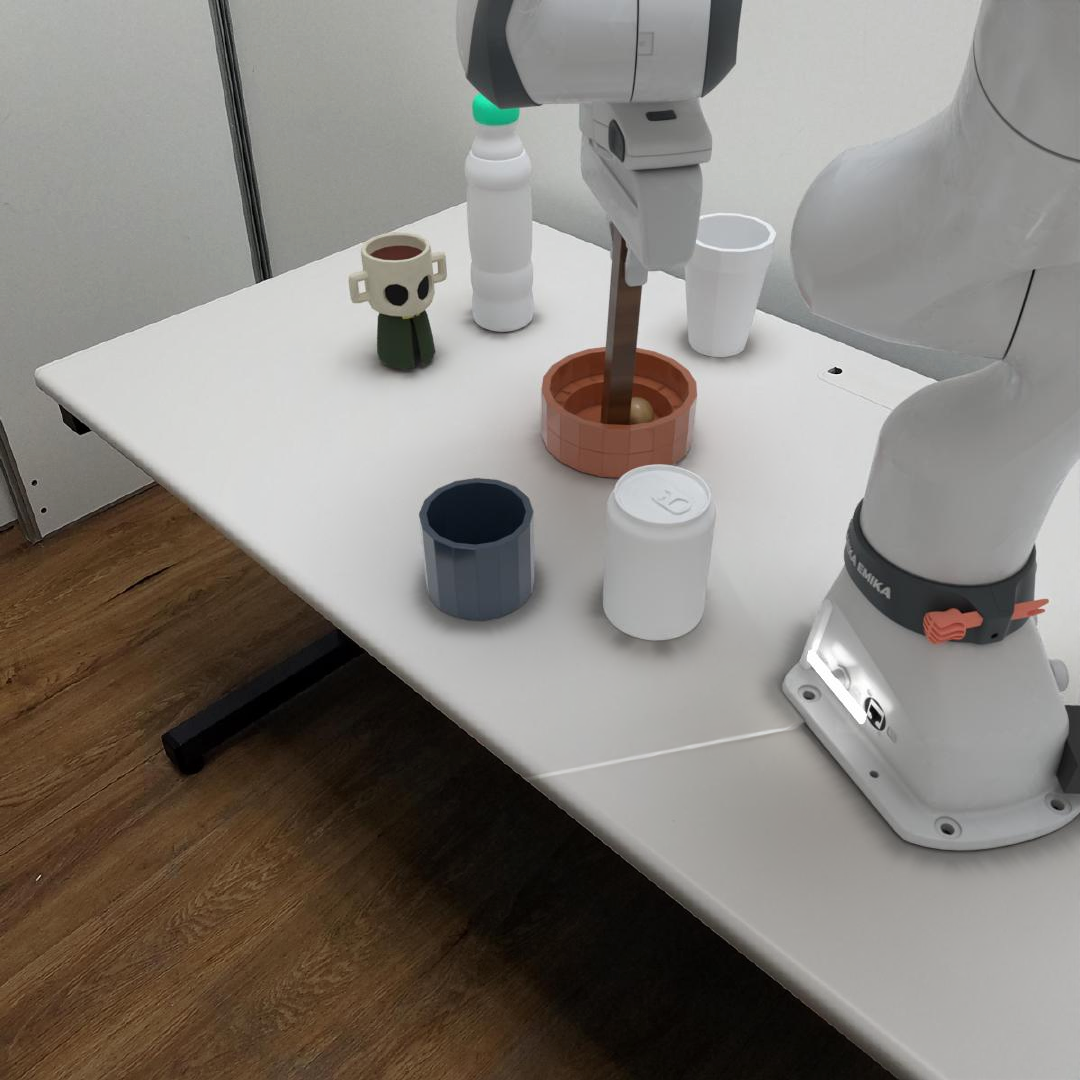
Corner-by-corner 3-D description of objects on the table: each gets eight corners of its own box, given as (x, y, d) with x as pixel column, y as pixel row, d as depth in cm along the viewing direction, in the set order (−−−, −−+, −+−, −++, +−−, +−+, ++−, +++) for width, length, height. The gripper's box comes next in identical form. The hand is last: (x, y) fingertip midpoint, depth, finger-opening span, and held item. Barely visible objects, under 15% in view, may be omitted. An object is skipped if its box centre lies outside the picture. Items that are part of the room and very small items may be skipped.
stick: (628, 436, 100) (647, 233, 87) (606, 439, 100) (621, 235, 87) (621, 423, 102) (639, 222, 89) (599, 426, 101) (614, 224, 89)
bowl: (712, 470, 100) (719, 417, 96) (562, 493, 98) (563, 439, 94) (664, 389, 111) (668, 338, 107) (527, 407, 109) (527, 356, 105)
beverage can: (647, 563, 90) (656, 447, 83) (723, 610, 86) (740, 492, 78) (581, 610, 86) (584, 492, 78) (658, 662, 82) (669, 543, 74)
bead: (634, 447, 104) (665, 427, 103) (616, 426, 101) (647, 404, 100) (623, 425, 106) (654, 405, 105) (605, 404, 104) (636, 383, 103)
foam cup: (758, 323, 121) (773, 214, 113) (762, 366, 114) (779, 253, 106) (674, 320, 122) (683, 211, 114) (674, 362, 115) (683, 249, 107)
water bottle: (533, 334, 120) (530, 107, 104) (470, 334, 120) (457, 107, 104) (534, 304, 125) (531, 83, 109) (474, 304, 126) (462, 84, 109)
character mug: (373, 387, 112) (359, 272, 104) (348, 357, 117) (332, 245, 108) (466, 359, 116) (459, 247, 108) (437, 331, 121) (429, 222, 112)
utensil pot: (544, 614, 86) (543, 538, 81) (436, 632, 84) (428, 557, 79) (521, 545, 92) (519, 471, 87) (420, 561, 91) (412, 486, 86)
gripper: (563, 68, 89) (562, 226, 98) (635, 156, 73) (626, 334, 82) (636, 62, 90) (628, 220, 99) (722, 148, 74) (703, 325, 83)
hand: (628, 273), depth 90 cm, fingers closed on stick, 2 cm apart
